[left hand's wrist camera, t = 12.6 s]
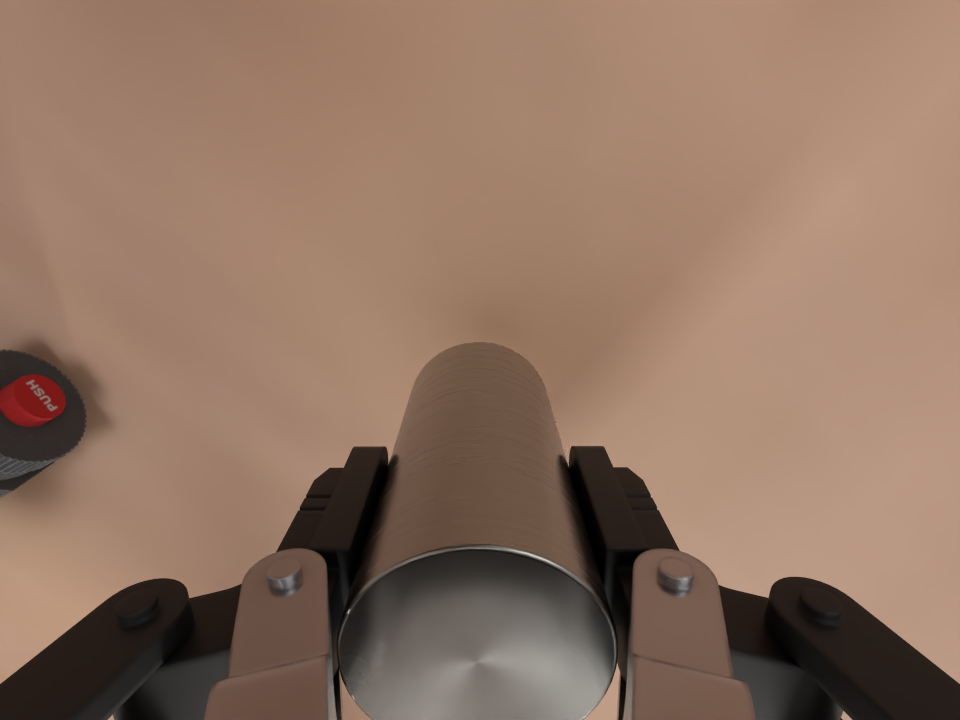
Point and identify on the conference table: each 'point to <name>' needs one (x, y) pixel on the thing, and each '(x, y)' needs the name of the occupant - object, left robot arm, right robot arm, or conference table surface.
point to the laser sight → (35, 417)
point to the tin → (477, 560)
